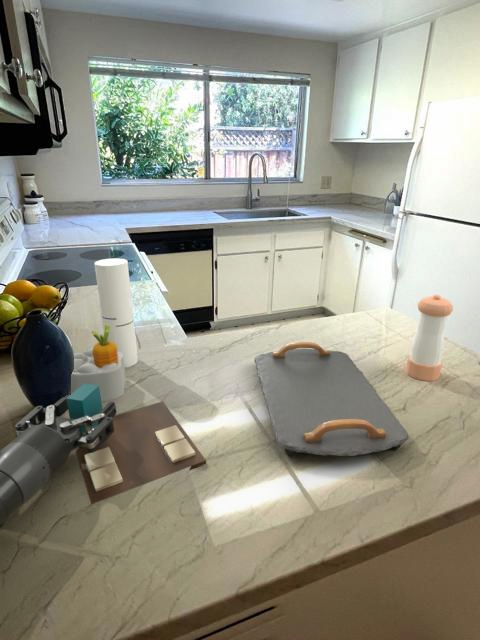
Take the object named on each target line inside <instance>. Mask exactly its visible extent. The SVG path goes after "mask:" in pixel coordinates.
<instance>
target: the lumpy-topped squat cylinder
mask: <svg viewBox="0 0 480 640" xmlns="http://www.w3.org/2000/svg"><path fill="white" fill-rule="evenodd" d="M93 348H94V346H93V347H90V348H88V349H86V350H85V351H83V352H74V353H73V354H74V370H73V372H72V374H71V394H72V393H73V392H74V391H76V390H77V389H78V388H79V387H80V386H82V385H83V384H84V383H85V384H92V385H99V388H100V395H101V402H106V401H112V400H114V399H118V398H120V397H121V396H123V395H124V394H125V385H126V383H127V377H126V376H127V375H126V368H125V366H124V358H123V354H122V353H121V352H118V351H117V353H118V363H112V364H111V365H104V366H103V367H102V368H100V367H97V366H96V365H95V363H94V358H93Z"/></svg>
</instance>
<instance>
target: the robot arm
mask: <svg viewBox="0 0 480 640" xmlns="http://www.w3.org/2000/svg"><path fill="white" fill-rule="evenodd" d="M69 396H70V395H66V396H65V397H63V396H62V397H61V398H60V399H59V400H57V401H56V402H55V403H54V404H50V405H48V406H46V407H43V405H37V406H35V407H34V408H33V409H32V410H30V411H29V412H28V413H27V414H26V415H25V416H24V417H22V418H21V419H19V421H18V422H16V424H15V425H14V428H15V433H16V436H17V437H15V438H14V439H13V440H12V441H11V442H9V443H8V444H7V445H6V446H5V447H3V448H2V449H1V450H0V529H2V527H3V526H5V524H6V523H7V522H8V521H9V520H11V518H12V517H13V516H14V515H15V514H16V513H17V512H18V511H19V510H20V509H21V507H23V506H24V505H25V504H26V503H27V502H28V501H29V500H31V499H32V498H33V497H34V496H35V495H37V493H38V492H39V491H40V490H42V488H43V487H44V486H45V485H46V484H47V482H48V481H49V480H50V479H51V478H52V477H53V476H54V475H55V474H56V473H57V472H58V471H59V470H60V468H61V467H63V465H64V464H65V463H66V462H67V460H68V458H69V456H70V455H71V453H72V451H74V450H75V448H77V447H79V446H83V447H87V449H88V452H89V453H93V452H95V451H96V450H97V449H98V448H99V447H100V446H101V445H102V444H103V443H104V442H105V441H106V440H107V439H108V437H109V436H110V435H111V434H112V433H113V432H114V425H113V417H114V416H115V415H117V406H116V402H115V401H109V402H108V403H107V404H106V405H105V406H104V407H102V410H101V411H100V412H99V414H97V415H94V416H91V417H89V416H84V417H81V418H78V419H70V418H67V417H65V416H63V415H64V414H65V413H66V412H67V411H69V410H68V405H67V399H66V398H67V397H69ZM97 421H98V425H96V426H93V427H92V423H94V422H97ZM82 424H85V428H86V431H85V432H84V433H82V430H81V425H82Z"/></svg>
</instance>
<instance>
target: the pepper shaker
mask: <svg viewBox="0 0 480 640" xmlns="http://www.w3.org/2000/svg"><path fill="white" fill-rule="evenodd" d="M417 309H418V311H419V317H418V322H417V326H416V327H417V328H416V331H415V334H414V336H413V339H412V342H411V345H410V346H411V348H410V354H409V355H408V356H407V361H406V366H405V373H407V375H409V376H410V377H412V378H413V379H416V380H420V381H427V382H428V381H430V382H433V381H437V380H438V379H439V378H440V376H441V371H442V367H443V362H442V357H443V354H444V349H445V330H446V325H447V321H448V316H451V314H452V313H453V311H454V306H453V303H452V302H451V301H450V300H448V299H446V298H444V297H441V295H440V294H433V296H425V297H423V298H421V299H420V300H419V301H418V303H417Z"/></svg>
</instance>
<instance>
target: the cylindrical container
mask: <svg viewBox="0 0 480 640" xmlns="http://www.w3.org/2000/svg"><path fill="white" fill-rule="evenodd" d="M93 266H94V270H95V279H96V285H97V292H98V293H97V294H98V301H99V309H100V315H101V324H102V329H103V330H102V331H103V333H104V332H105V325H108V326H109V336H108V341H110V342H113V343H115V344H116V345H117V351H118V352H121V353H122V354H123V358H124V366H125V369H126V368H130V367H132V366H134V365H136V364H137V363H138V361H139V358H138V347H137V339H136V329H135V327H136V326H135V320H134V309H133V300H132V299H133V298H132V290H131V281H130V280H131V279H130V271H129V261H128V260H127V259H126V258H118V257H117V258H116V257H115V258H113V257H112V258H103V259H100V260H97V261H94V265H93Z"/></svg>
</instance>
